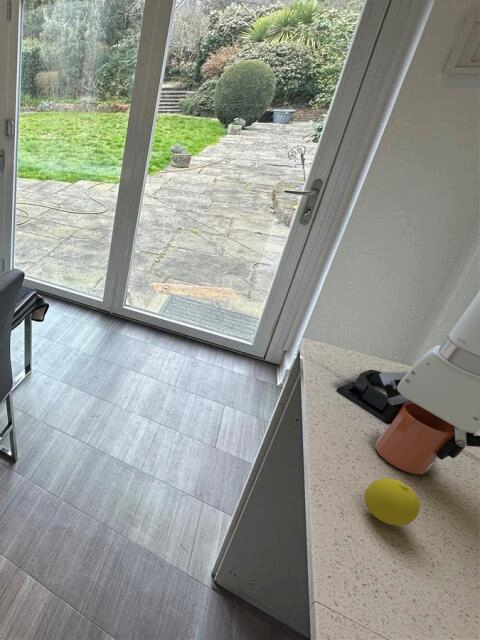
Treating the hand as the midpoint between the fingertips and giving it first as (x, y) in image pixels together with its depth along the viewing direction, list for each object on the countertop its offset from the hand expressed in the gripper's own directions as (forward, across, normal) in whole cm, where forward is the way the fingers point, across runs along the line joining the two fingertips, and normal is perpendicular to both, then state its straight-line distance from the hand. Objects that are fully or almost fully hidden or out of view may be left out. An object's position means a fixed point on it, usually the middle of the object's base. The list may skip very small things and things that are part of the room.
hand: (415, 437), depth 70 cm
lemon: (+6, -5, +16) cm, 18 cm away
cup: (+5, 0, 0) cm, 5 cm away
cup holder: (+6, +9, -13) cm, 17 cm away
